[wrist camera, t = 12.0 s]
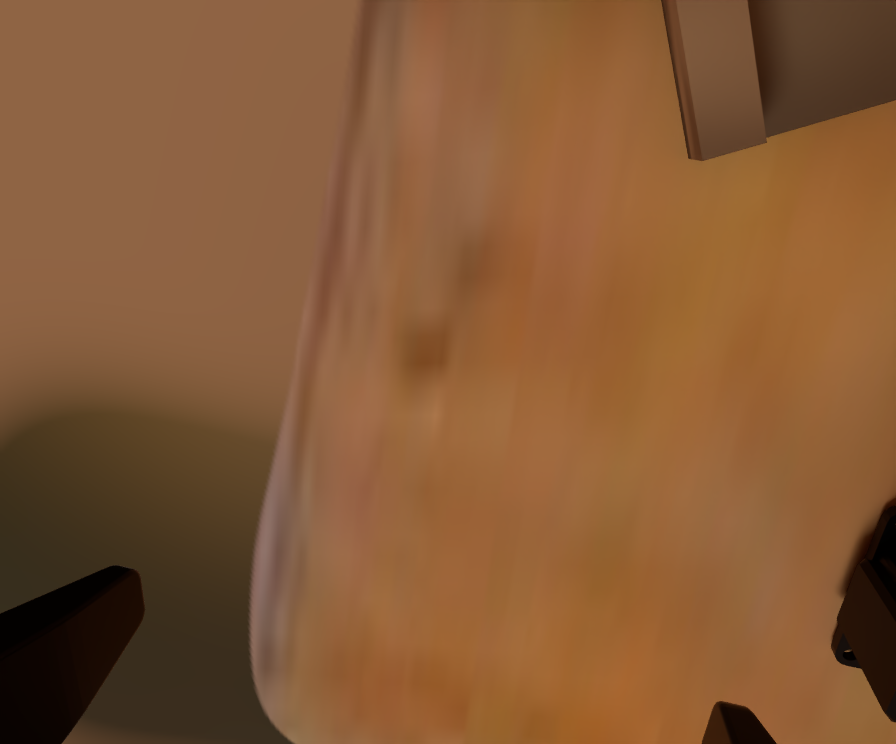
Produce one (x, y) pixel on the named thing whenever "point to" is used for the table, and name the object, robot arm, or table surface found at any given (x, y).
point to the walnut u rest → (775, 66)
